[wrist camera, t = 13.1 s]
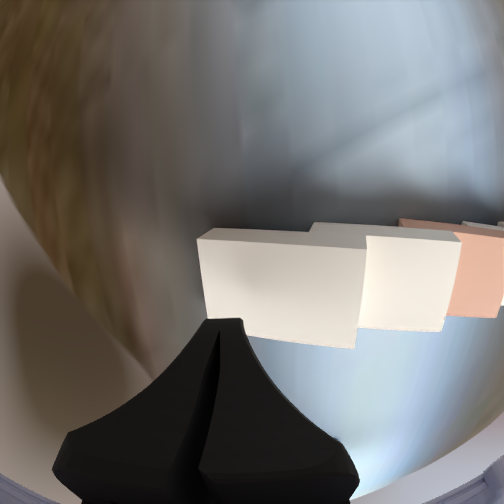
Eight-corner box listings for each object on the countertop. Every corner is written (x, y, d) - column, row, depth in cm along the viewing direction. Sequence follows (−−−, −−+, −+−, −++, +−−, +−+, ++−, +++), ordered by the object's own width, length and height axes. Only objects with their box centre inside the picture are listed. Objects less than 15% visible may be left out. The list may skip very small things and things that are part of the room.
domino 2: (314, 221, 15) (451, 230, 12) (312, 305, 17) (435, 314, 14) (308, 232, 13) (462, 242, 11) (307, 322, 15) (440, 332, 13)
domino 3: (399, 218, 15) (505, 231, 13) (388, 296, 17) (487, 303, 14) (403, 226, 13) (517, 240, 11) (390, 311, 15) (495, 317, 13)
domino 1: (213, 227, 15) (365, 235, 12) (223, 311, 17) (355, 327, 14) (196, 238, 13) (367, 249, 11) (209, 328, 15) (354, 348, 13)
